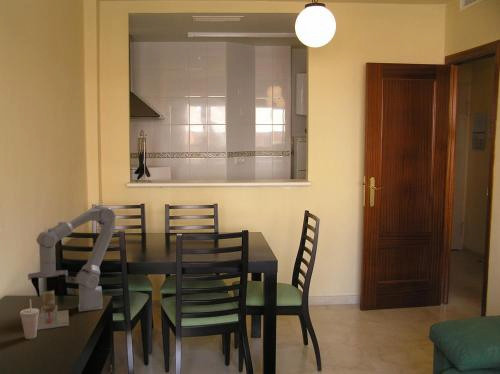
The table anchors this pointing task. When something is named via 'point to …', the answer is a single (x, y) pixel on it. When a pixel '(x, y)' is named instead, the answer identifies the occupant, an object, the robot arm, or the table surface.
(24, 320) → the smoothie
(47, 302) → the post
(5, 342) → the table surface
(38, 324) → the jack base
